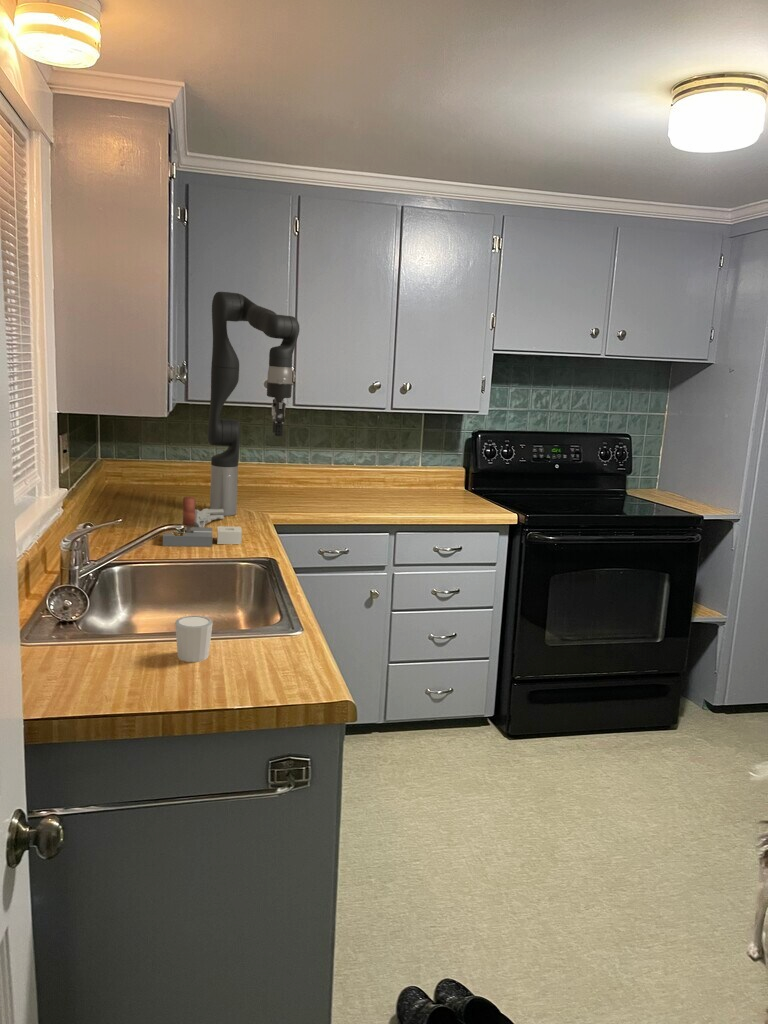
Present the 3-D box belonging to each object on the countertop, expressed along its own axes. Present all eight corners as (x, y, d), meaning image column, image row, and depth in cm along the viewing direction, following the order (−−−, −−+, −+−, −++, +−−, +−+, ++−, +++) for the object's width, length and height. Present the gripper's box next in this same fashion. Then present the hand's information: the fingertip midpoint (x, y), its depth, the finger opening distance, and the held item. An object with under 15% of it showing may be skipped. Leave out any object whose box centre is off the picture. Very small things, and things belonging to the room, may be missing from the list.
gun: (189, 533, 234) (191, 508, 234) (218, 530, 264) (219, 507, 264) (195, 534, 234) (198, 509, 234) (223, 530, 264) (225, 508, 264)
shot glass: (182, 666, 141) (183, 629, 140) (168, 653, 146) (169, 618, 145) (217, 659, 145) (218, 624, 144) (202, 647, 150) (203, 613, 149)
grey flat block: (164, 536, 234) (165, 526, 233) (212, 537, 237) (212, 527, 237) (162, 546, 223) (162, 535, 222) (212, 546, 226) (212, 536, 225)
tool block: (217, 539, 235) (217, 526, 234) (240, 539, 237) (240, 526, 236) (217, 544, 228) (217, 531, 228) (241, 545, 230) (241, 532, 229)
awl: (182, 539, 231) (183, 496, 229) (194, 540, 232) (195, 497, 229) (182, 542, 228) (183, 498, 225) (194, 542, 229) (195, 499, 226)
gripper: (265, 380, 243) (263, 431, 246) (269, 382, 229) (266, 436, 232) (289, 381, 244) (287, 432, 248) (294, 383, 231) (291, 437, 234)
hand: (277, 434), depth 240 cm, fingers open, 8 cm apart
